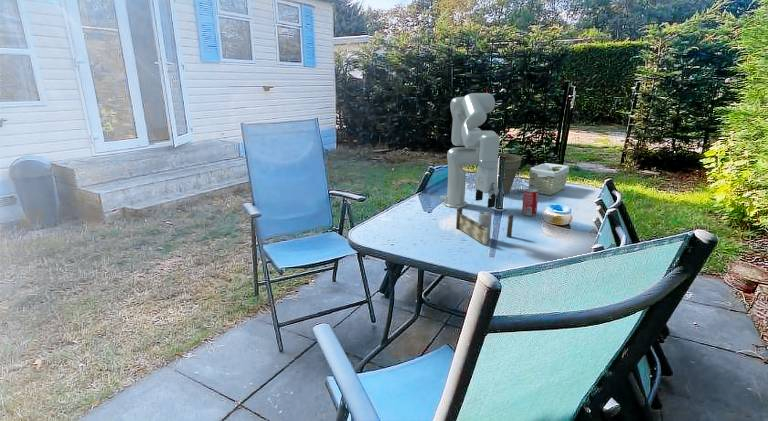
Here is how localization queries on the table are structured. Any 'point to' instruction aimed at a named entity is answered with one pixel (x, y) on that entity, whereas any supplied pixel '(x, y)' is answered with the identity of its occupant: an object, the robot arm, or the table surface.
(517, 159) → the plant pot
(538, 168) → the storage basket
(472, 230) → the gate
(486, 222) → the energy drink
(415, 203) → the table surface
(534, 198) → the soda can
